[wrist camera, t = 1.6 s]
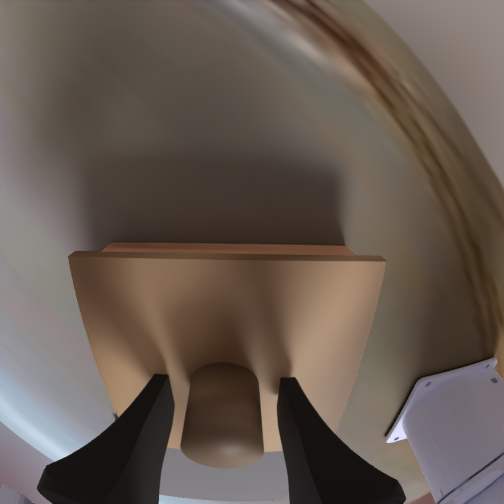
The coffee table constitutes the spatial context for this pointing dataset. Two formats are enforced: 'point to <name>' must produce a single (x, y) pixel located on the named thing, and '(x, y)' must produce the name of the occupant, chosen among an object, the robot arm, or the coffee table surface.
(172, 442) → the lid
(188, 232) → the coffee table surface
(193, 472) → the mat
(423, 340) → the coffee table surface
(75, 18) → the coffee table surface
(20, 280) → the coffee table surface
